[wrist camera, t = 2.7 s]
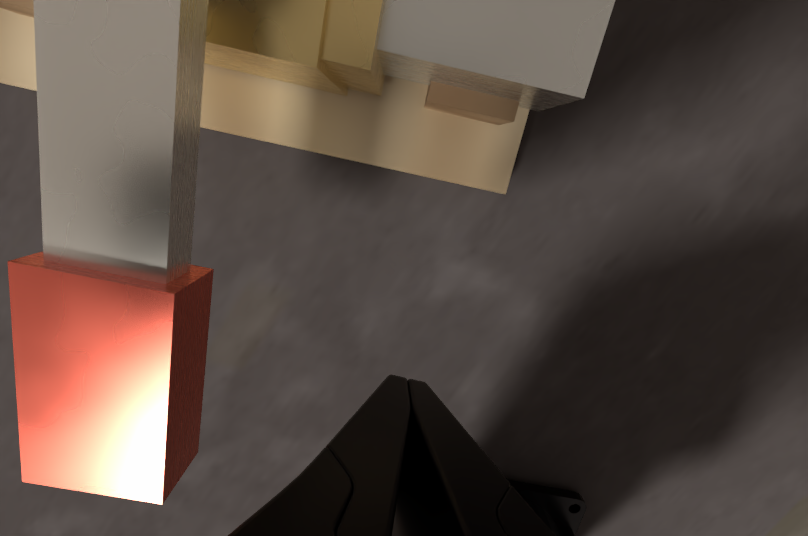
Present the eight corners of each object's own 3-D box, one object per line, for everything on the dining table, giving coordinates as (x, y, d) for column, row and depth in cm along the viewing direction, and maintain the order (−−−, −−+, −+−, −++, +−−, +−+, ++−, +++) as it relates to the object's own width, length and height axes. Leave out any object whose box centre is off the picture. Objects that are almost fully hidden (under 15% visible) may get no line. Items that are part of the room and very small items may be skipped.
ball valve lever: (61, -292, 6) (-48, -432, 4) (263, -236, 6) (220, -353, 4) (75, 430, 9) (16, 480, 8) (202, 452, 9) (167, 505, 8)
